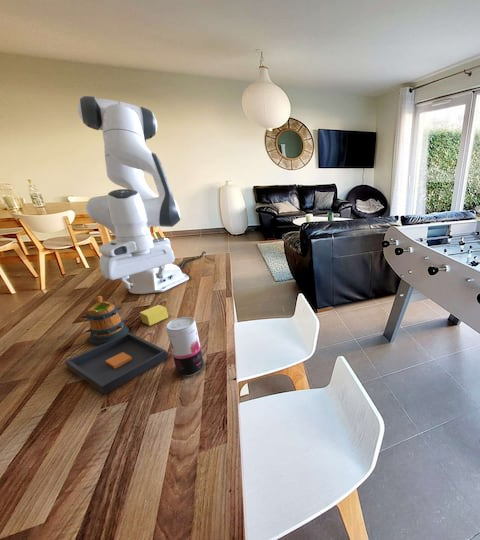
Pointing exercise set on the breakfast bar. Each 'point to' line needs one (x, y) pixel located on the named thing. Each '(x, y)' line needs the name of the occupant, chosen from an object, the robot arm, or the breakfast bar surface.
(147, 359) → the dark grey tray
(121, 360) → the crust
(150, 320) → the sponge
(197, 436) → the breakfast bar surface
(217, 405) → the breakfast bar surface
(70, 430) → the breakfast bar surface
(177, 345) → the beverage can
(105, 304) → the brown wooden barrel
